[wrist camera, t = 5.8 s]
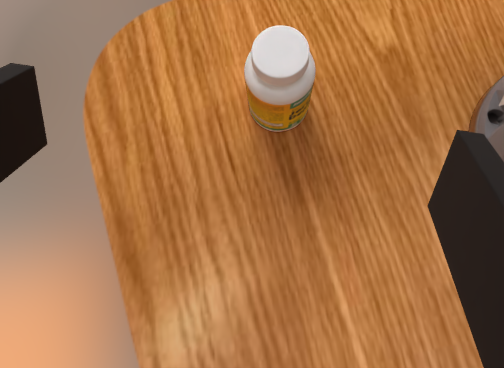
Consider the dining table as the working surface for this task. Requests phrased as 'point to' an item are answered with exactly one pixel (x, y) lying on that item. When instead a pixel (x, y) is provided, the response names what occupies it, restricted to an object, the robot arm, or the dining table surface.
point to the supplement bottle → (279, 78)
